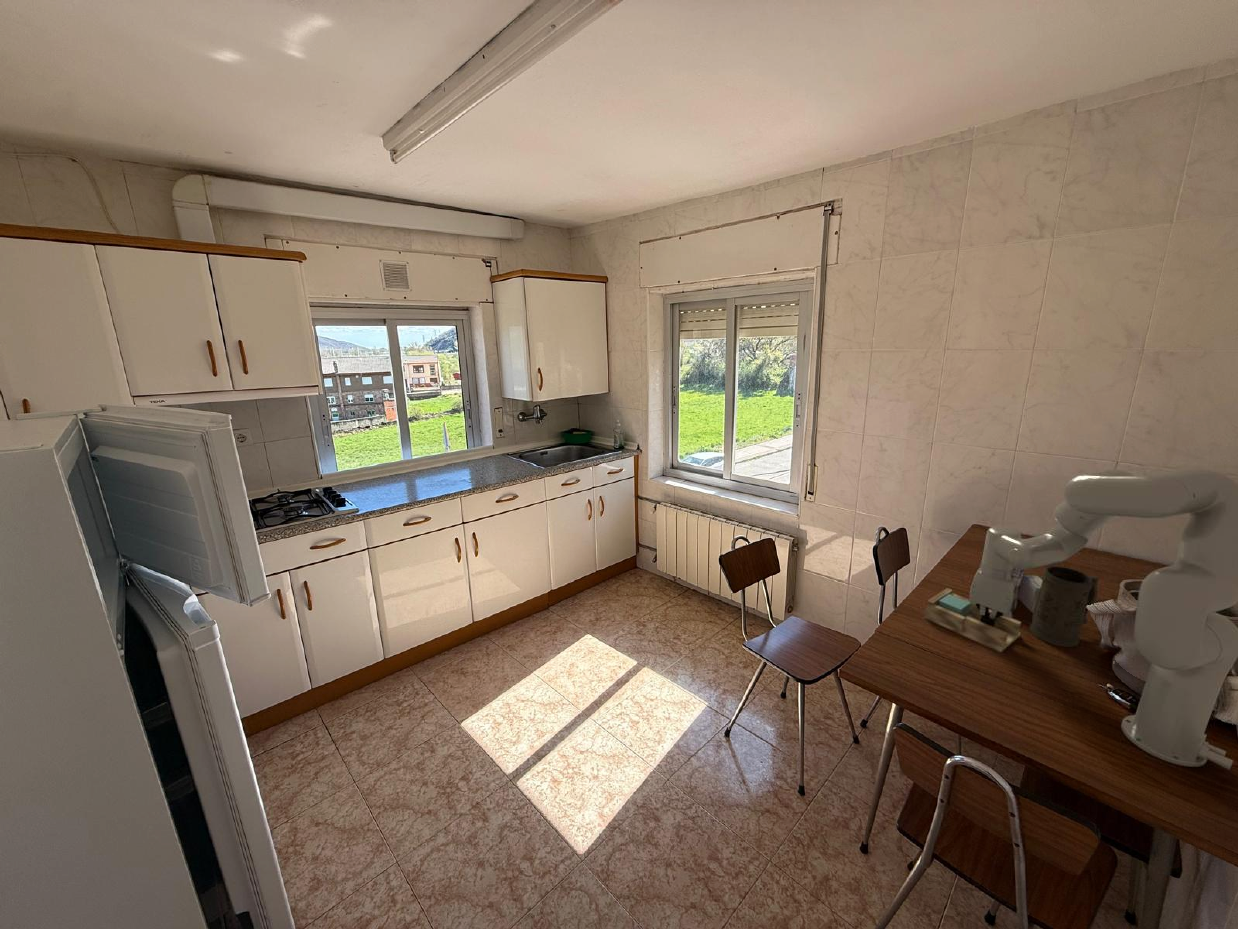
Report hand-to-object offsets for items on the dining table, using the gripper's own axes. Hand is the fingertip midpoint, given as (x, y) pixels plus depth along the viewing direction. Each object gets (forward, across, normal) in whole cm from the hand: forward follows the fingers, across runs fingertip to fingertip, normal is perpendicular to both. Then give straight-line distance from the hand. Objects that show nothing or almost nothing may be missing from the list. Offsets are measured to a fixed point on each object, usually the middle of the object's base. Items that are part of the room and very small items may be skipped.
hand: (986, 627), depth 142 cm
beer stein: (+2, -12, -16) cm, 20 cm away
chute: (+2, +4, 0) cm, 5 cm away
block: (+1, +9, 0) cm, 9 cm away
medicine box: (+2, -2, -26) cm, 26 cm away
